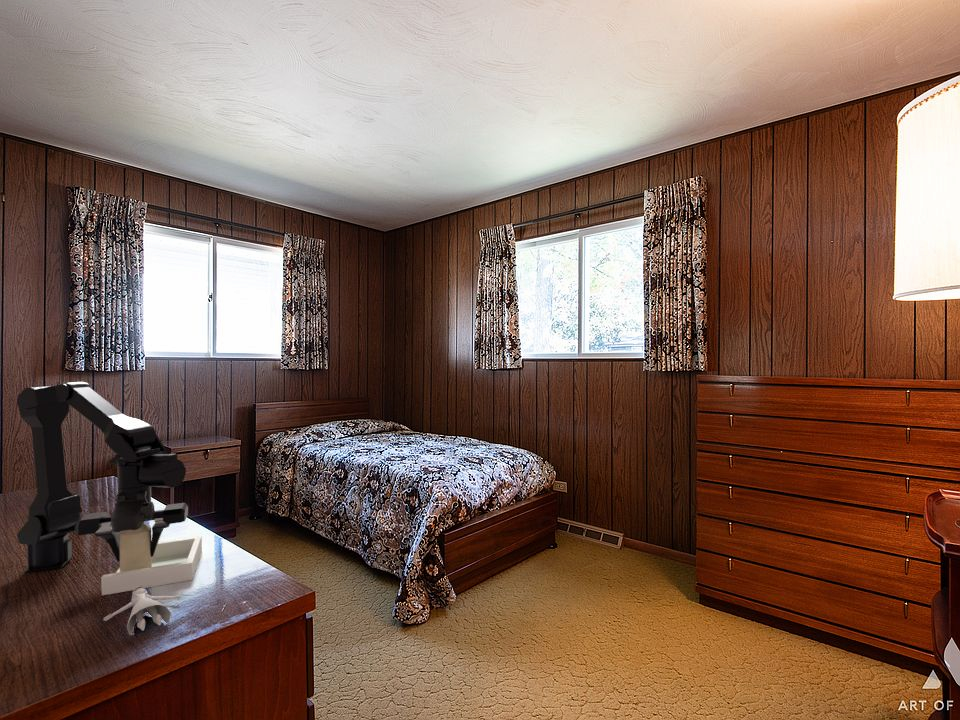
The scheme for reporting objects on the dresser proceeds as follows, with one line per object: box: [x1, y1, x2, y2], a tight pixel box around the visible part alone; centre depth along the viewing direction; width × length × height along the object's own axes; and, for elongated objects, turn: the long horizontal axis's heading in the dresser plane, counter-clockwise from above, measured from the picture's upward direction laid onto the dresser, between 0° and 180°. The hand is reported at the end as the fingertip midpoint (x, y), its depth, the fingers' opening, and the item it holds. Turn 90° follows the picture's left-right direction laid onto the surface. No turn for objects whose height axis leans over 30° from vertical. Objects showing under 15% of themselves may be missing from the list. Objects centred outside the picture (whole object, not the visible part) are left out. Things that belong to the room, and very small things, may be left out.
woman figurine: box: [103, 586, 183, 636], centre depth 87 cm, size 12×4×18 cm
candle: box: [119, 521, 152, 572], centre depth 103 cm, size 6×6×10 cm
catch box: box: [100, 535, 203, 596], centre depth 105 cm, size 15×16×4 cm
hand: (135, 558), depth 103 cm, fingers closed on candle, 5 cm apart
